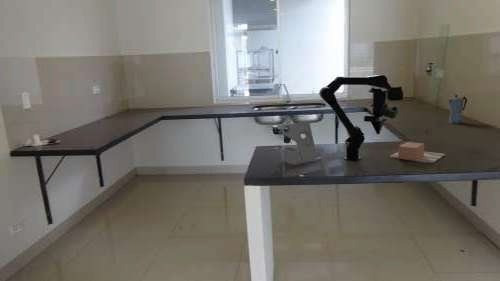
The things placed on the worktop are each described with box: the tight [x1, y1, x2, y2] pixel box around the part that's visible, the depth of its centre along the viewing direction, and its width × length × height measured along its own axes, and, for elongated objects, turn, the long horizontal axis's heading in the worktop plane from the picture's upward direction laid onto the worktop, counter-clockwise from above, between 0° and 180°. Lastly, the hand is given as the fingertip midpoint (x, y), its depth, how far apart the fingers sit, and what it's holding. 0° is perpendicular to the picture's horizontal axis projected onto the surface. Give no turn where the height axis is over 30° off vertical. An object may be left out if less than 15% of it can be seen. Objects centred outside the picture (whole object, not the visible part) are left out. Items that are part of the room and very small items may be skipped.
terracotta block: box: [397, 141, 425, 162], centre depth 178 cm, size 6×8×11 cm
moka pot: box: [447, 94, 468, 124], centre depth 264 cm, size 10×15×20 cm, turn 107°
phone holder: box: [281, 121, 322, 165], centre depth 182 cm, size 17×10×18 cm, turn 118°
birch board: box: [388, 151, 446, 164], centre depth 181 cm, size 18×20×1 cm
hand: (378, 134), depth 179 cm, fingers closed
